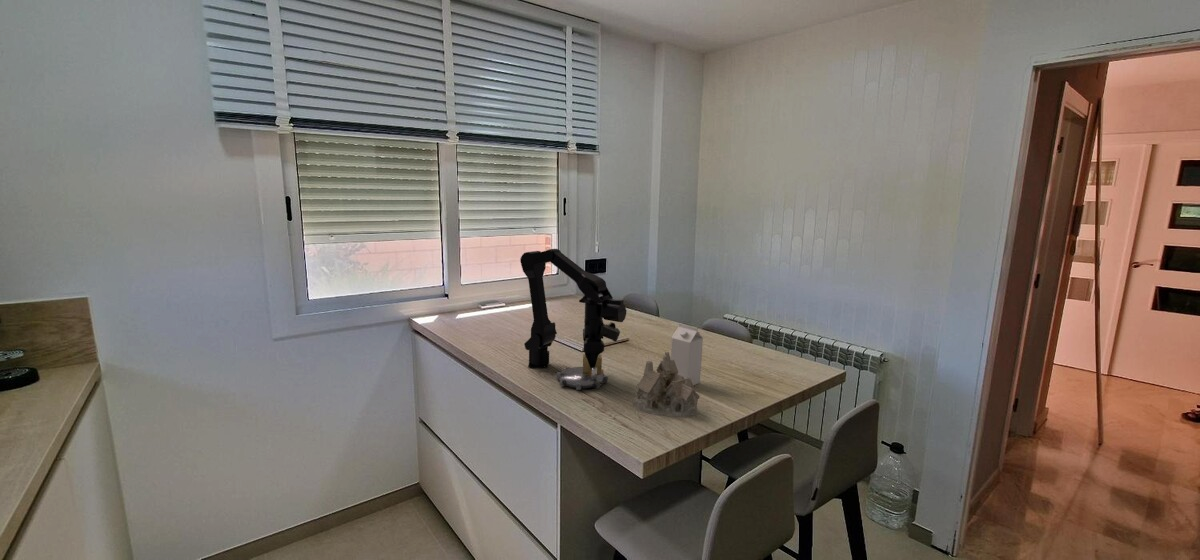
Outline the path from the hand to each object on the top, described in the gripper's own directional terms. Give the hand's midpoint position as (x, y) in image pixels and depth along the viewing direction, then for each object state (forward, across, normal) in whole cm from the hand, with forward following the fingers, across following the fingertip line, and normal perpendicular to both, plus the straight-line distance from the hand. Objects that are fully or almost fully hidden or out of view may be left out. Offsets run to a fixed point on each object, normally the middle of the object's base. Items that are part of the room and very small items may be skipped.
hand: (592, 364), depth 154 cm
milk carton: (+5, -3, -30) cm, 30 cm away
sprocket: (+5, -3, +3) cm, 7 cm away
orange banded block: (+2, 0, 0) cm, 2 cm away
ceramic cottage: (+5, -21, -20) cm, 30 cm away
